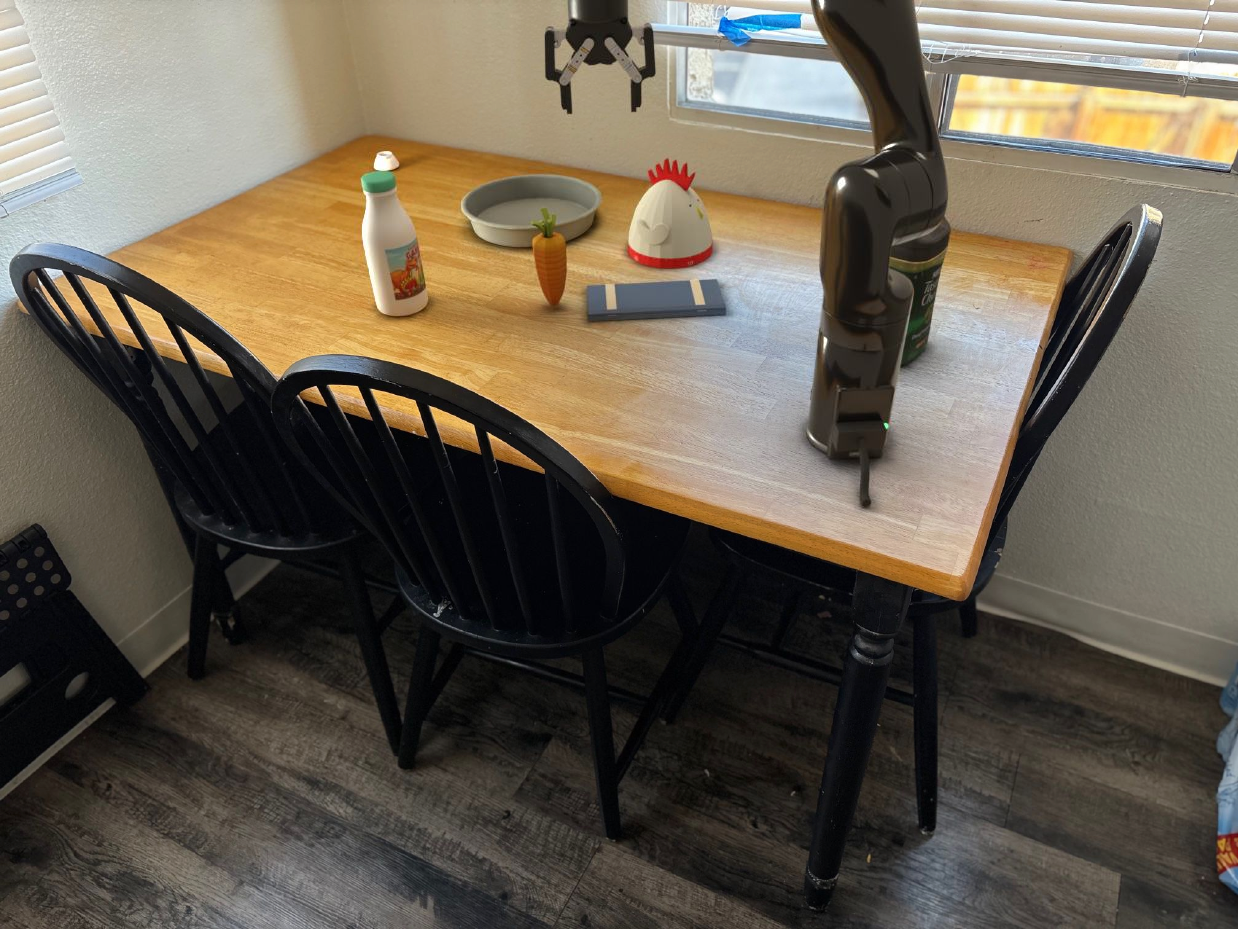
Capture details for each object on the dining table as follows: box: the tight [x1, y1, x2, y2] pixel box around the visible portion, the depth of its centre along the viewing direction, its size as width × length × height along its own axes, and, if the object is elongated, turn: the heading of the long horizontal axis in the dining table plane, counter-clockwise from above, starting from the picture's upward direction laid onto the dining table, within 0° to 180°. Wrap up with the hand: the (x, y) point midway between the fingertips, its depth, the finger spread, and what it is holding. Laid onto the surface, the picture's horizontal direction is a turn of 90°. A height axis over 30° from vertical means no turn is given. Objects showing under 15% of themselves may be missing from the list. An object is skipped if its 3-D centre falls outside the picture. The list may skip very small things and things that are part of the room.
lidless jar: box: [373, 150, 400, 172], centre depth 184 cm, size 5×3×5 cm
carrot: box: [531, 207, 568, 308], centre depth 130 cm, size 5×5×15 cm
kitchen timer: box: [628, 157, 714, 269], centre depth 145 cm, size 14×14×15 cm
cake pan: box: [460, 173, 603, 248], centre depth 158 cm, size 25×25×4 cm
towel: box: [586, 278, 727, 322], centre depth 134 cm, size 10×20×1 cm, turn 93°
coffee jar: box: [889, 215, 952, 365], centre depth 116 cm, size 10×8×19 cm
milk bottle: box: [360, 170, 429, 317], centre depth 130 cm, size 8×8×20 cm
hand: (601, 111), depth 120 cm, fingers open, 8 cm apart
